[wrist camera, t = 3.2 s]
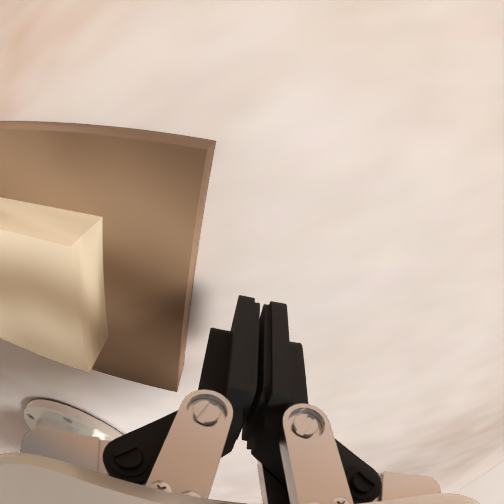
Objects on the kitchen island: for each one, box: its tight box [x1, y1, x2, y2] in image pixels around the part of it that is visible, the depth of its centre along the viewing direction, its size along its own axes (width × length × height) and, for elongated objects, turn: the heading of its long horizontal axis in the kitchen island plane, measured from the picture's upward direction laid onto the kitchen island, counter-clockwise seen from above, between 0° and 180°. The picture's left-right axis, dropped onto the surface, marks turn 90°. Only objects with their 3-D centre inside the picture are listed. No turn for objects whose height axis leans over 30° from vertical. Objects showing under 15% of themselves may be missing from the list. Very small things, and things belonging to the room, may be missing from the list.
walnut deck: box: [0, 121, 216, 392], centre depth 13 cm, size 12×12×2 cm
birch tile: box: [0, 197, 108, 373], centre depth 11 cm, size 6×8×2 cm
